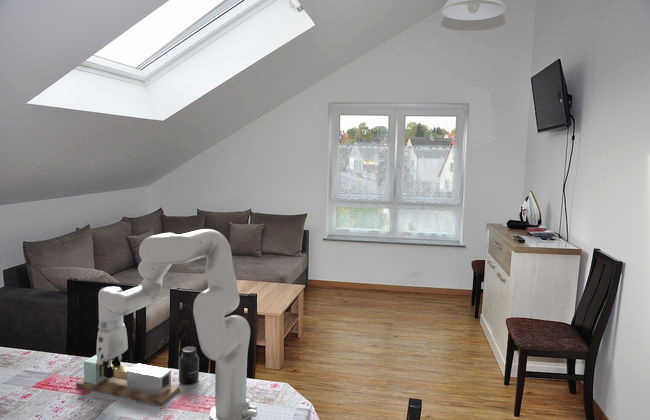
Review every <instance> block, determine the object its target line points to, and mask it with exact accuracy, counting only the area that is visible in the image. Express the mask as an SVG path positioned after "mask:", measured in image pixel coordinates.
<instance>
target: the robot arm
mask: <svg viewBox="0 0 650 420" xmlns="http://www.w3.org/2000/svg"><path fill="white" fill-rule="evenodd" d="M138 255H139V258H140V259H141V261H140V263H139V264H138V267H137V270H138V273H139V275H140V276H141V277H142V278H143V279H142V281H141V282H140V283H139V284H138V285H137V286H134V287H132V288H129V289H126V290H124V291H123V289H122V288H121V287H120V286H114V285H113V286H106V287H101V289H100V290H99V292H98V295H97V296H98V326H97V328H98V331H97V337H96V338H97V339H96V355H97V361H96V364H100V365H102V366H103V367H104V377H107V378H112V377H113V367H112V366H111V364H114V365H120V366H122V365H121V362H122V361H123V360H122V359H123V356H124V353H125V352H127V350H128V348H129V344H128V333H127V328H126V325H125V323H124V316H126V315H129V314H131V313H134V312H135V311H138V310H140V309H143V308H145V307H147V306H149V305H150V304H151V303H152V302H153V301H154V300H155V298H157V296H158V295H159V294H160V291H161V290H162V288H163V283H164V276H165V275H166V274H167V272H168V271H169V269H171V267H172V266H173V265H177V264H178V265H179V264H187V263H190V262H193V261H197V260H199V259H201V258H206V263H205V278H206V281H207V282H206V283H207V289H204V290H203V291H201V292H200V293H198V294H197V296H196V297H195V299H194V301H193V308H192V312H193V318H194V323H195V328H196V332H197V338H198V342H199V346H200V349H201V351H202V353H203V355H205V357H207V359H210V360H212V361H215V375H214V376H215V378H214V379H215V380H214V382H215V384H214V386H215V387H214V393H215V394H214V406H213V407H211V409H210V411H209V418H210V420H248V419H249V418H250V417H253V418H256V417H257V415H258V410H257V408H258V407H257V406H256V405H251V404H250V399H249V398H247V377H248V376H247V375H248V373H247V372H248V370H247V368H248V352H249V345H250V337H251V327H250V324H249V321H248V320H247V319H246V318H245V317H243V316H241V315H237V314H234V315H233V314H232V315H230V316H228V315H229V314H231V313H232V312H234V311H235V310H237V308H238V307H239V305H240V302H241V301H240V300H241V299H240V293H239V287H238V283H237V282H238V281H237V277H236V273H235V269H234V263H233V257H232V256H233V255H232V248H231V246H230V243H229V241H228V239H227V238H226V237H225V235H224V234H223V233H221V232H220V231H217V230H216V229H211V228H203V229H197V230H193V231H190V232H186V233H185V232H184V233H181V234H176V233H174V232H164V233H160V234H155V235H151V236H148V237H145V238H144V240H142V242H141V243H140V245H139V249H138ZM106 360H108V363H107V362H106Z"/></svg>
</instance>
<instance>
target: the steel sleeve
mask: <svg viewBox="0 0 650 420" xmlns="http://www.w3.org/2000/svg"><path fill="white" fill-rule="evenodd" d="M171 385H172V369H168V368H165V367H160V366H153V365H148V364H144V363H143V364H142V363H136V364H135V365H134V366H132V367H130V369H129V370H127V390H130V391H135V392H140V393H144V394H149V395H154V396H159V397H161V396H162V395H164V394H165V393H166V392H167V391H169V390H170V389H171Z"/></svg>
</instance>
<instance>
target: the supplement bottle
mask: <svg viewBox="0 0 650 420" xmlns="http://www.w3.org/2000/svg"><path fill="white" fill-rule="evenodd" d="M181 351H182V352H181V356H180V357H179V360H178V382H179V384H180V385H184V386H191V385H195V384H196V383H198V381H199V375H200V372H199V370H200V367H199V366H200V357H199V355H198V354H197V347H195V346H185V347H183V348H182V349H181Z"/></svg>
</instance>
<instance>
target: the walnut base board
mask: <svg viewBox="0 0 650 420" xmlns="http://www.w3.org/2000/svg"><path fill="white" fill-rule="evenodd" d="M75 386H76V388H79V389H83V390H88V391H93V392H97V393H102V394H106V395H110V396H115V397H120V398H125V399H129V400H133V401H136V402H137V401H138V402H142V403H146V404H147V403H148V404H152V405H156V406H160V407H161V406H163V405H164V404H166V403H167V402H168V401H170V400H171V399H172V398H174V396H175V395H177V394H178V393H179V392H180V391H181V387H180V386H178V385H173V384H171V389H170V390H169V391H167V392H166V393H165V394H164V395H162V396H161V397H159V396H154V395H149V394H144V393H140V392H135V391H130V390H127V380H123V379H118V378H113V377H112V378H106V379H104V380H103V381H101V382H100V383H98V384H91V383H87V382H84V378H82V379H80V380H79V381H77V382H76V383H75Z"/></svg>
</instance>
